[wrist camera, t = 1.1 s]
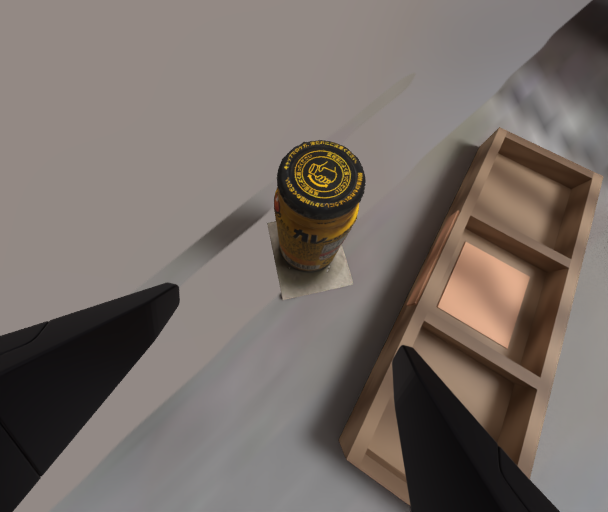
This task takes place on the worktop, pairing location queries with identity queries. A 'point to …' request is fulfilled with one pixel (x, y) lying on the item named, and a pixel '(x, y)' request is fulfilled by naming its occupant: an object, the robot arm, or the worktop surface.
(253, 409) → the worktop surface
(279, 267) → the condiment
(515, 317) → the tray
